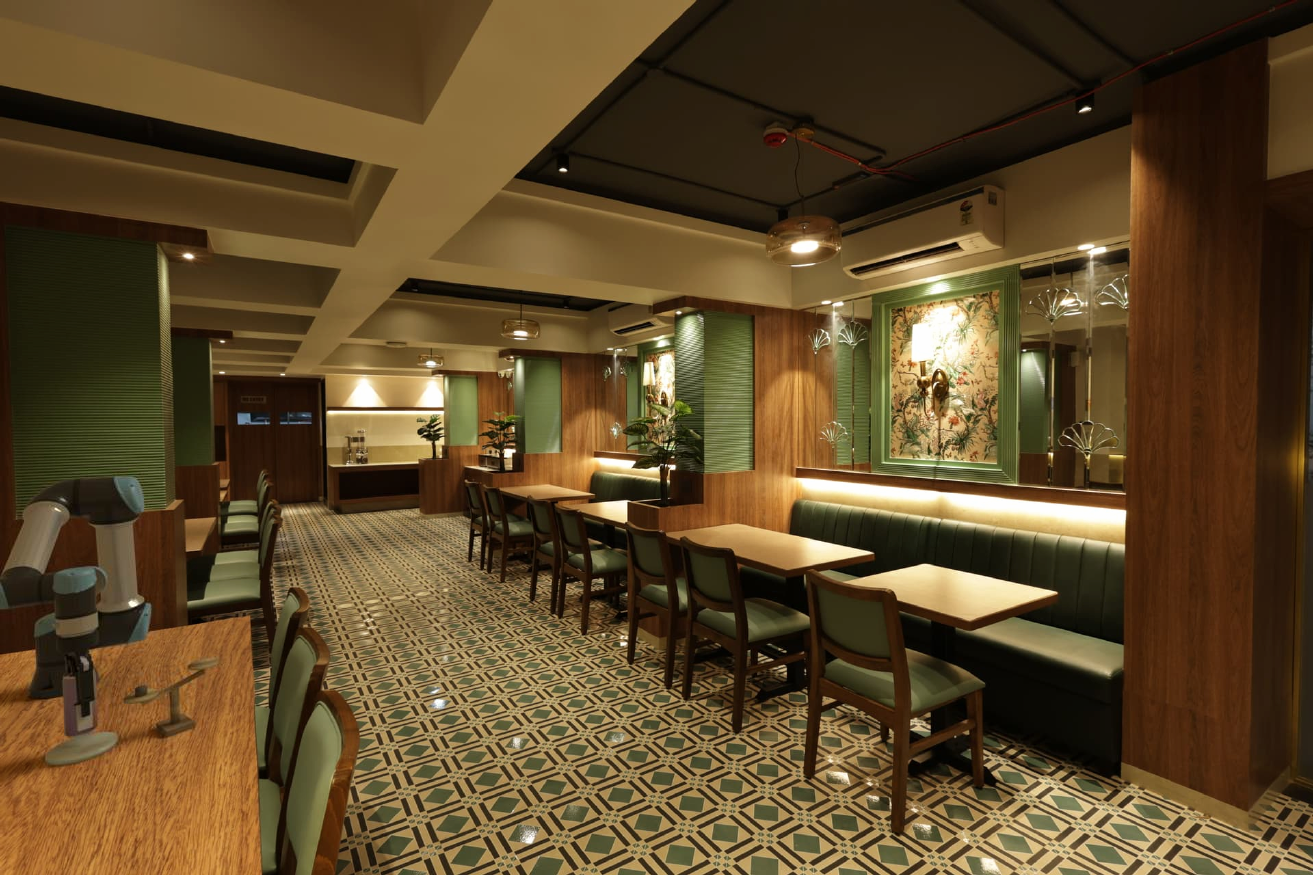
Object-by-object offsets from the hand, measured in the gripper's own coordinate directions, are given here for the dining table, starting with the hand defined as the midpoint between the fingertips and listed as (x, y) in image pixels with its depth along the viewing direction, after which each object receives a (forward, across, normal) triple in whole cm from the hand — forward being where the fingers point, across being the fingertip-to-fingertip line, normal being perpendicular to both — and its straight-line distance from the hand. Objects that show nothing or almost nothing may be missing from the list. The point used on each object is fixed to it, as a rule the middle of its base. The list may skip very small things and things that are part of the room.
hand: (81, 724), depth 149 cm
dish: (+7, 0, 0) cm, 7 cm away
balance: (+7, +6, +17) cm, 19 cm away
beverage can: (+2, 0, 0) cm, 2 cm away
